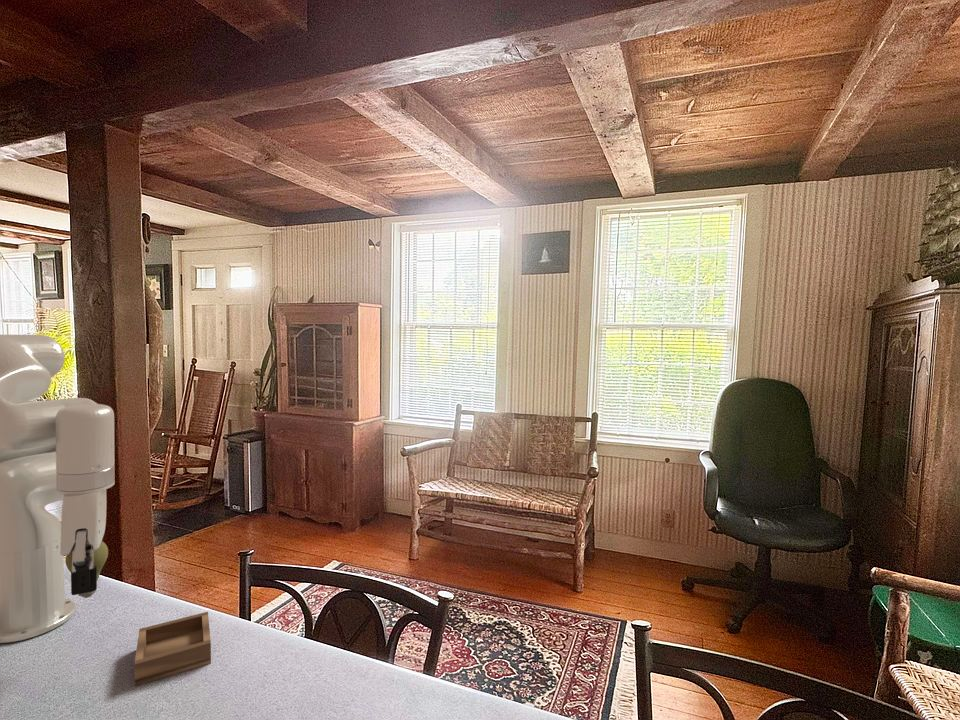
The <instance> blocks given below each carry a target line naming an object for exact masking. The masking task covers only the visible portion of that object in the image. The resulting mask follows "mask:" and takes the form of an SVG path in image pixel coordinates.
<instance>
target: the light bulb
mask: <svg viewBox="0 0 960 720" xmlns="http://www.w3.org/2000/svg"><path fill="white" fill-rule="evenodd" d="M88 549H91V546H86V550H88ZM72 554H73V547H72V549H71V551H70V553H69V554H67V555H66V556H65V566H66V568H67V571H69V572H70V573H71V571H72ZM87 557H88V558H89V559H90V554H86V558H87ZM108 557H109V548H108V546H107V544H106V543H105V542H104V541H103V540H102V541H101V544H100V547H99V548H98V549H97V550H96V551H95V563H94V566H97V581H99V577H100V574H101V573H100V571H101V569H102V570H103V567H104V565H105V564H106V562H107V559H108ZM89 561H90V560H89ZM97 588H98V587H97ZM97 588H96V590H95V591H93V592H87V593H82V594H77V595H78V596H79V597H81V598H84V599H87V598H91V597H92V596H93V595H94V594H95V593H97V590H98V589H97Z"/></svg>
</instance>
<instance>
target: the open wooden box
mask: <svg viewBox="0 0 960 720" xmlns="http://www.w3.org/2000/svg"><path fill="white" fill-rule="evenodd" d="M209 618H210V617H209V611H204V612H201V613H200V612H199V613H198V614H197V613H196V614H193V615H189V616H185V617H182V618H177V619H173V620H170V621H166V622H162V623H158V624H153V625H150V626H145V627H142V628H138V629H139V630H138V636H137V637H138V638H137V644H136V650H135V657H134V662H133V663H134V664H133V665H134V668H133V669H134V687H137V686H140V685H143V684H146V683H149V682H153V681H157V680H160V679H164V678H166V677H170V676H172V675H176V674H179V673H183V672H185V671H189V670H193V669H197V668H200V667H202V666H206V665H208V664H212V649H211V648H212V647H211V646H212V642H211V629H210V619H209Z"/></svg>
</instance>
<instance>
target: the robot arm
mask: <svg viewBox="0 0 960 720" xmlns="http://www.w3.org/2000/svg"><path fill="white" fill-rule="evenodd" d="M64 364H65V352H64V349H63V347H62V345H61V344H60V343H59V341H57V340H56V339H54V338H52V337H51V336H48V335H44V334H0V644H5V643H6V644H9V643H14V642H19V641H25V640H27V639H31V638H35V637H37V636H40V635H43V634H45V633H48V632H50V631H52V630H54V629H56V628H58V627H60V626H62V625H63V624H64V623H66V622H67V621H68V620H70V619H71V618H72V617H73V615H74V614H75V613H76V603H75V601H74V600H71V599H70V598H69V599H68V598H66V597H65V567H64V565H65V564H64V557H66V555H67V554H69V553H70V551H71V549H72V547H73V554H72V571H71V572H70V583H71V584H70V587H71V589H70V591H71V592H70V593H71V594H70V595H72V596H77V595H78V594H82V593H87V592H93V591H95V590H96V588H98V586H97V585H98V583H97V582H98V580H97V566H94V563H95V551H96V550H97V549H98V548H99V547H100V544H101V541H103V539H104V536H105V533H106V532H105V531H106V526H107V525H106V524H107V503H108V502H107V490H108V489H110V488H112V487H113V486H114V485H116V484H115V481H116V480H115V476H116V475H115V474H116V473H115V471H116V470H115V468H116V467H115V461H116V460H115V457H116V456H115V412H114V410H113V408H112V407H111V406H110V405H107V404H101V403H98V402H95V401H94V400H92V399H90V398H87V397H72V398H71V397H70V398H63V399H61V398H60V399H48V400H38V399H40V398H41V397H42V396H43V395H44V394H45V393H46V392H47V391H48V390H49V388H50V387H51V384H52V378H53V377H55V376H56V375H57V374H58V373H59V372H61V370H62V368H63V367H64ZM60 501H62V504H61V505H62V506H61V520H60V519H59V517H57V516H55V515H54V514H52V513H51V512H49V511H48V510H47V509H46V506H47V505H50V504H53V503H56V502H60ZM86 546H91V549H88V550H86ZM86 554H90V559H89V558H88V557H87V558H86ZM89 560H90V561H89ZM102 572H103V568H102V569H101V571H100V574H101V573H102Z"/></svg>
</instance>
